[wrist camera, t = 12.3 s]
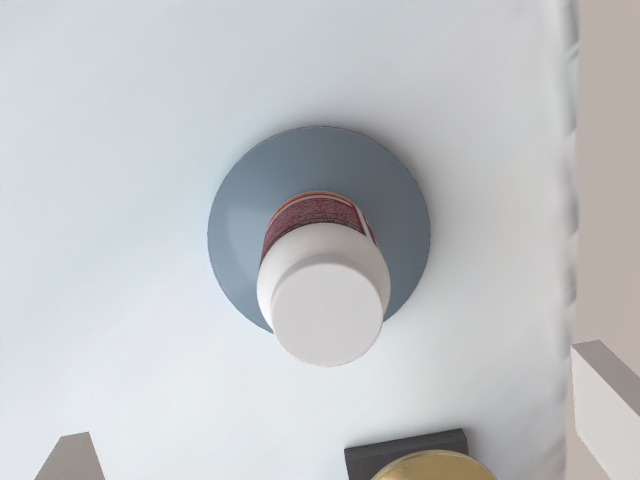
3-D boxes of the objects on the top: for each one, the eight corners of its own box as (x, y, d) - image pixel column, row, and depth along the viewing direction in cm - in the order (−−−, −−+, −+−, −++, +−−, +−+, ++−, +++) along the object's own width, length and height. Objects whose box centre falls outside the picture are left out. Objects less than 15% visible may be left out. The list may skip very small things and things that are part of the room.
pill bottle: (243, 244, 35) (218, 321, 24) (313, 166, 34) (320, 210, 23) (322, 310, 36) (331, 410, 26) (393, 236, 35) (433, 309, 25)
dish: (187, 148, 35) (183, 151, 33) (410, 107, 34) (414, 108, 33) (236, 350, 38) (234, 359, 37) (438, 314, 38) (442, 322, 37)
